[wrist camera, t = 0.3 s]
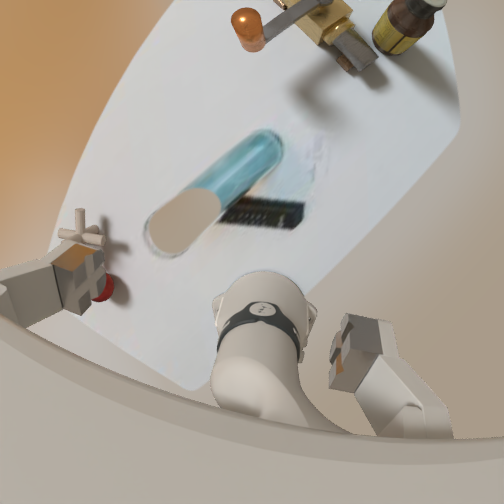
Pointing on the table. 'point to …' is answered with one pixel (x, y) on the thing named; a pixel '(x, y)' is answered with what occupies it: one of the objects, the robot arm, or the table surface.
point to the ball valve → (335, 32)
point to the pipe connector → (82, 231)
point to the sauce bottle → (404, 24)
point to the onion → (106, 290)
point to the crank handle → (258, 35)
